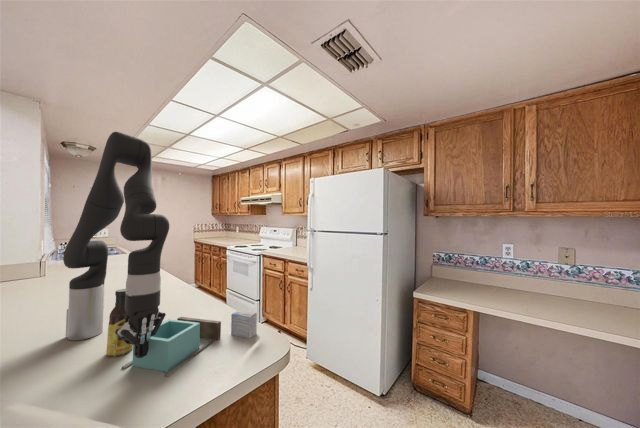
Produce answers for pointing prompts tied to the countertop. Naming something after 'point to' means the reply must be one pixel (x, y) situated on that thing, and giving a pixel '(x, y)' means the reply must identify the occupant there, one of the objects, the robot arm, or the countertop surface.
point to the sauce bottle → (117, 327)
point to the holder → (170, 345)
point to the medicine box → (244, 323)
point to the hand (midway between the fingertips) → (141, 356)
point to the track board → (207, 331)
